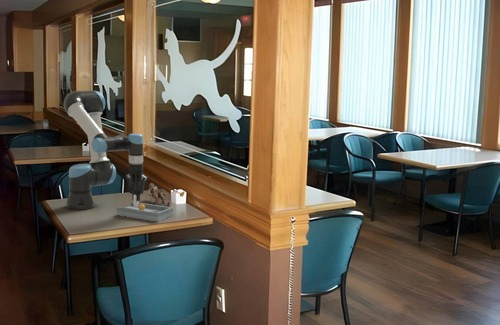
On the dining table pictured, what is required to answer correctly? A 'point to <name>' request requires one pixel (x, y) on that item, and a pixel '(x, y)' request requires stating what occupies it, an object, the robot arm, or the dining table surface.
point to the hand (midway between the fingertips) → (136, 206)
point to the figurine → (157, 195)
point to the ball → (141, 207)
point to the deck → (146, 212)
